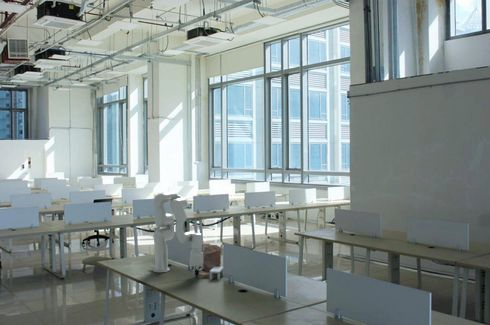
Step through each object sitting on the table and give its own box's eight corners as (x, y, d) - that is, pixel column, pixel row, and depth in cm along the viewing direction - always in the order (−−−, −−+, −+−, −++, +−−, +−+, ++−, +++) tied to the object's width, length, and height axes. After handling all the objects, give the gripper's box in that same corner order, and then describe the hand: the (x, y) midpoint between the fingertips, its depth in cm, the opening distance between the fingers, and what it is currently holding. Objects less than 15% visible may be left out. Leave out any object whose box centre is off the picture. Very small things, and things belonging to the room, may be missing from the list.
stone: (198, 270, 399) (198, 243, 398) (207, 267, 407) (207, 241, 406) (216, 273, 387) (216, 246, 387) (225, 270, 396) (225, 244, 395)
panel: (198, 278, 376) (198, 274, 376) (200, 275, 384) (200, 271, 384) (217, 278, 374) (217, 274, 374) (219, 276, 382) (219, 272, 382)
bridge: (209, 279, 371) (209, 271, 371) (214, 274, 385) (214, 266, 384) (219, 279, 370) (219, 271, 370) (223, 274, 384) (223, 266, 383)
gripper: (185, 251, 376) (185, 276, 377) (205, 251, 374) (205, 277, 375) (188, 248, 384) (188, 273, 385) (208, 249, 381) (208, 274, 382)
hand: (196, 275), depth 380 cm, fingers closed
